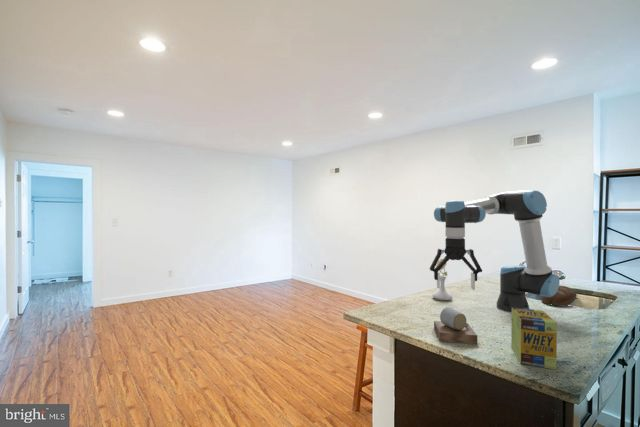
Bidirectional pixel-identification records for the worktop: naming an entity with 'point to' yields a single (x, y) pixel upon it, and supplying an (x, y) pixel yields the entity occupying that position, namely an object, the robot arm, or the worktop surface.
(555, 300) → the bread
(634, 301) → the worktop surface
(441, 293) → the flower in vase
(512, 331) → the protein box
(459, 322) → the ceramic mug
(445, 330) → the walnut stand
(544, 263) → the robot arm
